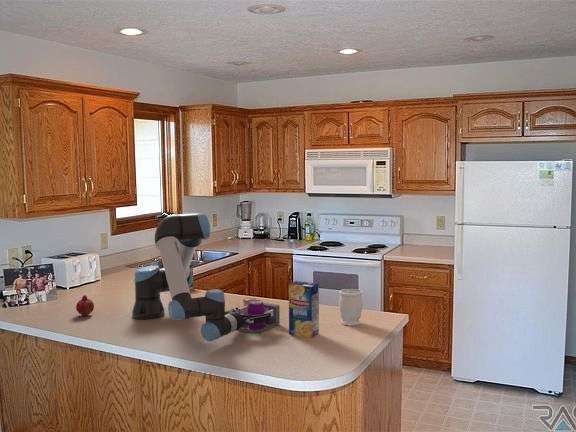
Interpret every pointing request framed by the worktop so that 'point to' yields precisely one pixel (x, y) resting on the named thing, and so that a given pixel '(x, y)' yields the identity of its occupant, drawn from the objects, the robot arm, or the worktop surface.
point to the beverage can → (256, 313)
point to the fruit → (85, 306)
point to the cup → (247, 302)
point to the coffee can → (192, 275)
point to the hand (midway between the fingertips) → (260, 310)
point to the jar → (350, 306)
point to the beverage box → (304, 309)
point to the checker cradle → (271, 323)
